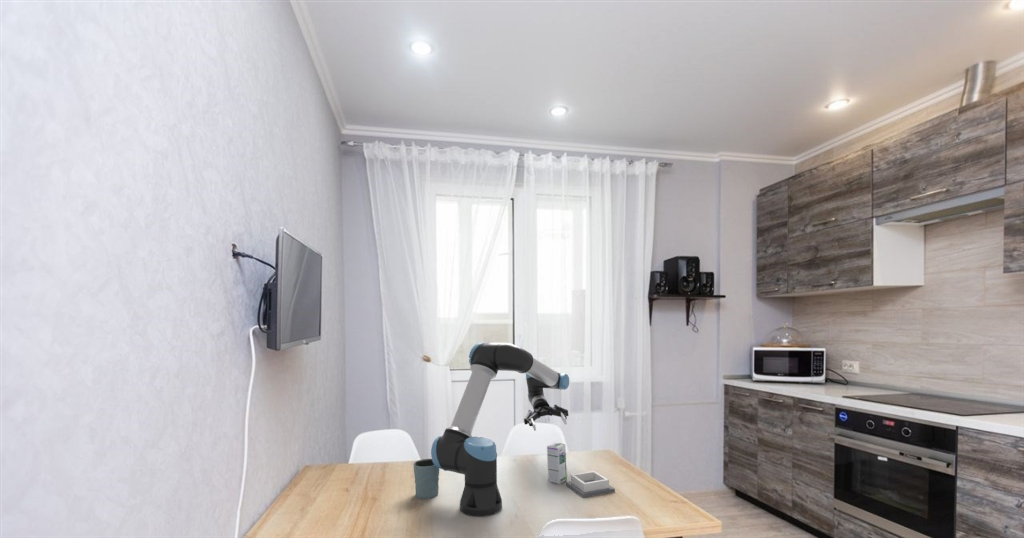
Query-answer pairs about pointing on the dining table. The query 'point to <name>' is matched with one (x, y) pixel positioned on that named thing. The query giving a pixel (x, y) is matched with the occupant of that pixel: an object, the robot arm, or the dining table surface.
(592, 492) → the socket plate
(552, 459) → the syrup box
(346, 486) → the dining table surface
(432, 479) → the teal cup
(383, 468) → the dining table surface
